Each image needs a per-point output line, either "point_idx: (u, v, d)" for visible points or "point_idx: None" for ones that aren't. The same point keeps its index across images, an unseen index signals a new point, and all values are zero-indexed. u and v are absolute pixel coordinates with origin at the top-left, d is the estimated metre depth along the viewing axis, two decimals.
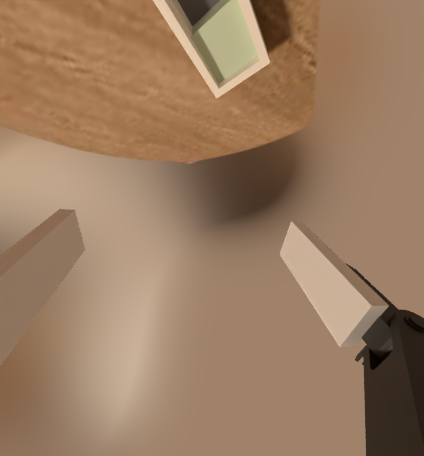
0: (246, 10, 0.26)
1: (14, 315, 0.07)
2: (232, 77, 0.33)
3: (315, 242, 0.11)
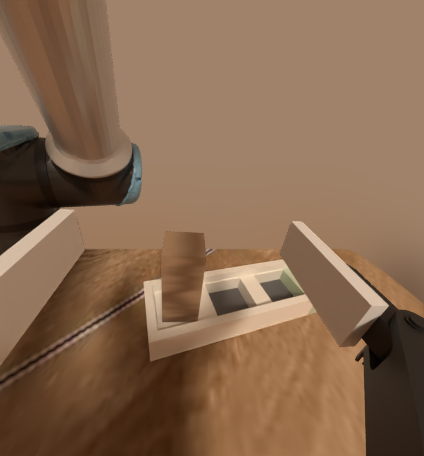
0: None
1: (14, 315, 0.07)
2: None
3: (315, 242, 0.11)
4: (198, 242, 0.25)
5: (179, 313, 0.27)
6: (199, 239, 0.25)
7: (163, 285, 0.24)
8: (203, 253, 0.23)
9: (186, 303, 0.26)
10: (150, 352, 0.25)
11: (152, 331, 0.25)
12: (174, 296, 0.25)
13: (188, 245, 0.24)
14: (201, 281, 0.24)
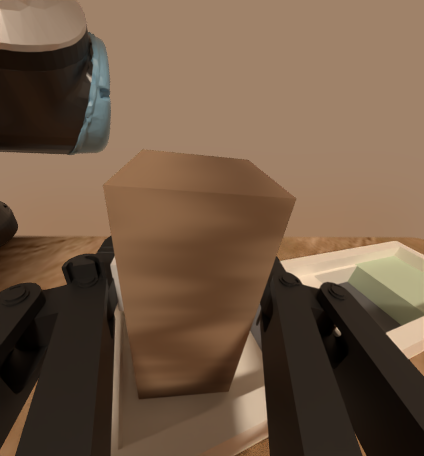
0: (365, 250, 0.24)
1: None
2: None
3: None
4: (244, 170, 0.08)
5: (182, 379, 0.10)
6: (243, 166, 0.08)
7: (130, 309, 0.07)
8: (276, 189, 0.06)
9: (203, 357, 0.09)
10: None
11: None
12: (168, 342, 0.08)
13: (213, 171, 0.07)
14: (257, 294, 0.07)
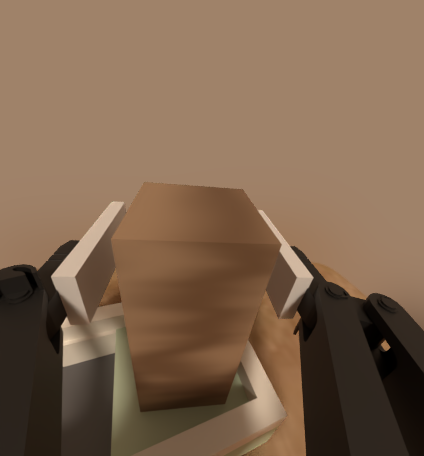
0: None
1: (96, 285, 0.09)
2: None
3: None
4: (238, 205, 0.08)
5: (181, 394, 0.11)
6: (237, 200, 0.09)
7: (133, 336, 0.08)
8: (264, 232, 0.07)
9: (200, 374, 0.10)
10: None
11: None
12: (168, 362, 0.09)
13: (209, 210, 0.08)
14: (249, 321, 0.08)
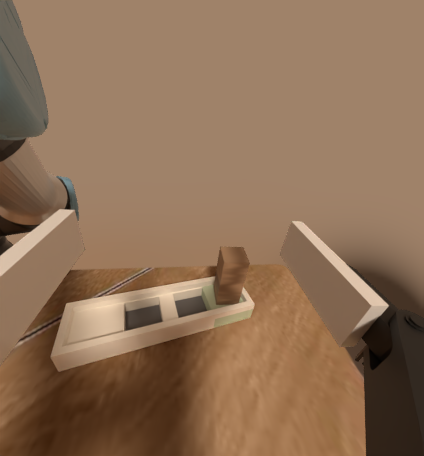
0: (207, 279, 0.47)
1: (14, 315, 0.07)
2: None
3: (315, 242, 0.11)
4: (242, 253, 0.40)
5: (227, 299, 0.42)
6: (242, 251, 0.41)
7: (221, 280, 0.39)
8: (247, 260, 0.38)
9: (233, 292, 0.42)
10: (55, 364, 0.31)
11: (57, 347, 0.31)
12: (226, 287, 0.41)
13: (236, 255, 0.39)
14: (244, 277, 0.40)
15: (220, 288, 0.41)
